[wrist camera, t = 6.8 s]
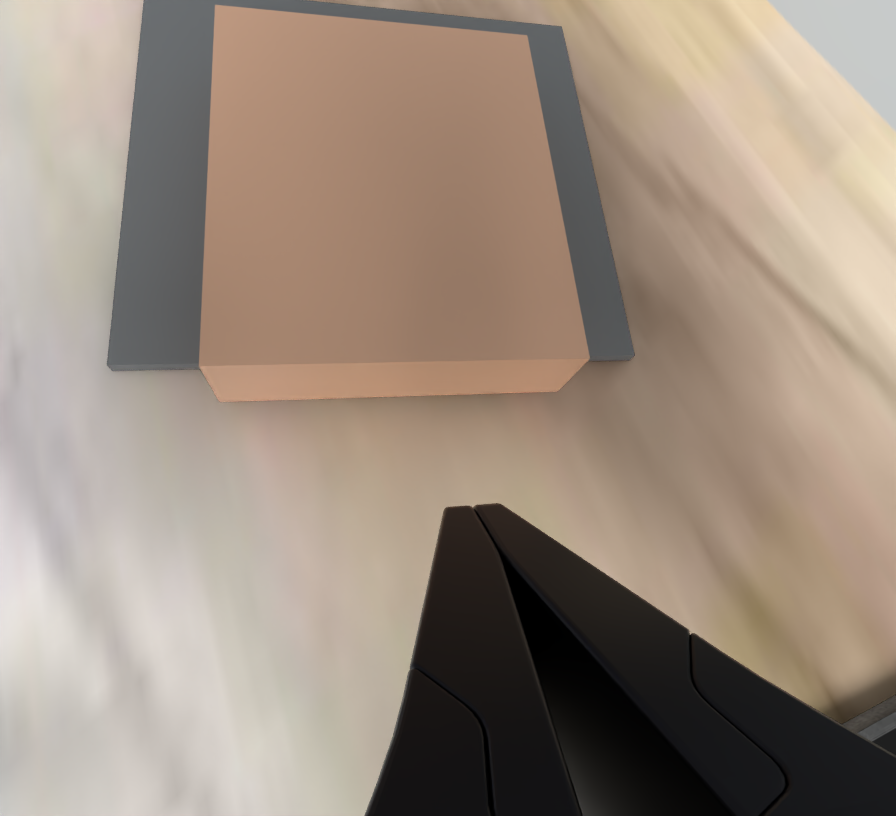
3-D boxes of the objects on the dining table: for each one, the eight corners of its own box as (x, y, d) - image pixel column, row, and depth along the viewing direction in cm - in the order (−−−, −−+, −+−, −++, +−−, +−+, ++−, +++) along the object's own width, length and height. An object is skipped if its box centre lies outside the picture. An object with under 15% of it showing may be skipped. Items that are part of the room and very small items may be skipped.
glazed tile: (590, 358, 16) (527, 35, 19) (198, 365, 14) (214, 4, 17) (556, 393, 18) (506, 100, 22) (220, 404, 16) (230, 79, 20)
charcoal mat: (629, 360, 19) (634, 355, 19) (112, 370, 16) (106, 365, 16) (558, 35, 24) (561, 26, 24) (148, -6, 21) (145, -17, 21)
